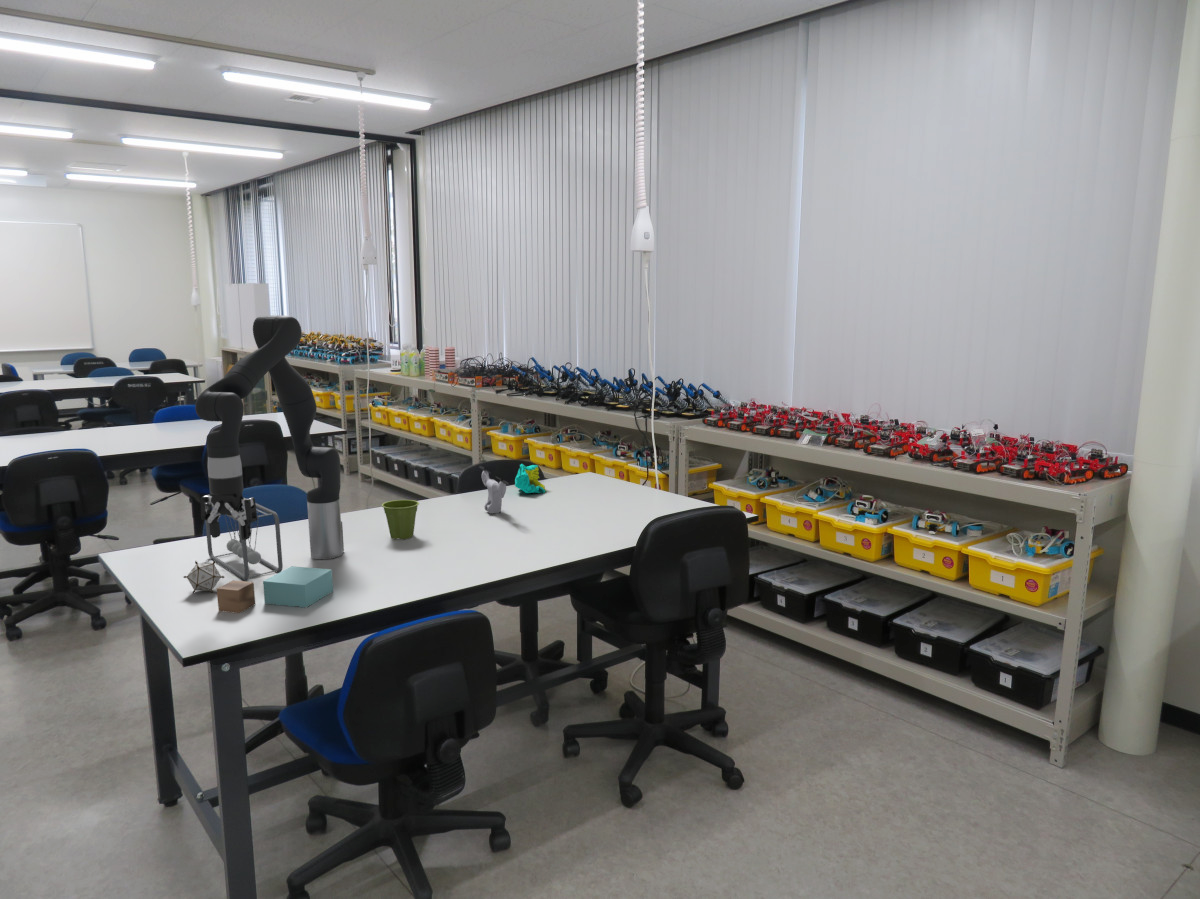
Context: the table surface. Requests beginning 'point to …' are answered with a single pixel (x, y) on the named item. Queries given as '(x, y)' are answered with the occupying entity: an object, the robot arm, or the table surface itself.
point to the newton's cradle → (243, 549)
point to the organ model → (529, 479)
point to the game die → (204, 577)
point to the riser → (298, 586)
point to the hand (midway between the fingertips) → (230, 538)
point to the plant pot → (401, 517)
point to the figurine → (493, 492)
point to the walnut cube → (236, 596)
